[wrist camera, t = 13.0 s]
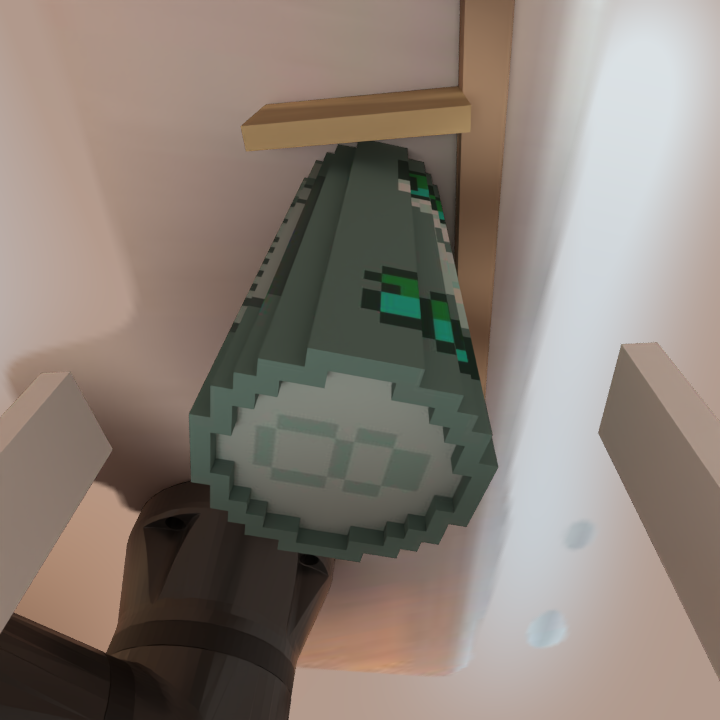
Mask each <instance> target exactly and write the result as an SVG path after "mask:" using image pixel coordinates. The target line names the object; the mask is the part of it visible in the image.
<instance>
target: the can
mask: <svg viewBox="0 0 720 720" xmlns="http://www.w3.org/2000/svg"><path fill="white" fill-rule="evenodd" d="M189 432H190V463H191V482H194V483H200V484H206V485H210V508H213V509H219V510H225V511H228V522H233V523H240V524H245V535H251V536H257V537H264V538H270V539H276V540H279V542H278V550H284V551H291V552H297V553H304V554H310V555H316V556H323V557H329V558H336V559H342V560H348V561H355V562H360V561H361V558H362V555H363V553H365V554H372V555H378V556H384V557H391V558H397V555H398V553H399V551H400V549H404V550H410V551H416V552H417V551H418V548H419V546H420V544H421V542H425V543H431V544H438V545H439V543H440V541H441V539H442V537H443V535H444V533H445V531H446V528H447V526H448V524H451V525H458V526H464V527H467V525H468V523H469V521H470V519H471V517H472V516H473V514H474V512H475V510H476V508H477V506H478V504H479V502H480V501H481V499H482V497H483V495H484V493H485V491H486V489H487V487H488V486H489V484H490V482H491V480H492V478H493V476H494V474H495V472H496V471H497V469H498V463H497V459H496V454H495V450H494V445H493V441H492V430H491V426H490V421H489V417H488V412H487V408H486V403H485V399H484V394H483V390H482V385H481V381H480V376H479V372H478V367H477V363H476V358H475V354H474V349H473V345H472V340H471V336H470V331H469V327H468V322H467V318H466V313H465V309H464V304H463V300H462V295H461V291H460V286H459V282H458V277H457V273H456V268H455V264H454V259H453V255H452V250H451V246H450V241H449V237H448V232H447V228H446V223H445V219H444V214H443V210H442V205H441V201H440V196H439V192H438V187H437V185H433V184H432V179H431V174H428V173H425V167H424V162H420V161H415V160H410V159H408V153H407V148H403V147H399V146H394V145H389V144H384V143H380V142H375V141H361V142H358V144H357V148H353V147H349V146H344V145H339V144H338V146H337V149H336V151H335V154H333V153H328V152H327V154H326V156H325V158H324V161H323V162H322V161H317V160H316V162H315V164H314V166H313V168H312V170H311V173H310V175H309V177H308V178H304V180H303V182H302V184H301V186H300V188H299V190H298V192H297V194H296V196H295V198H294V200H293V202H292V204H291V206H290V208H289V210H288V213H287V215H286V217H285V219H284V221H283V223H282V225H281V227H280V229H279V231H278V233H277V235H276V237H275V239H274V241H273V243H272V245H271V247H270V249H269V251H268V253H267V255H266V257H265V260H264V262H263V264H262V266H261V268H260V270H259V272H258V274H257V276H256V278H255V280H254V282H253V284H252V286H251V288H250V290H249V292H248V294H247V296H246V298H245V300H244V302H243V304H242V306H241V309H240V311H239V313H238V315H237V317H236V319H235V321H234V323H233V325H232V327H231V329H230V331H229V333H228V335H227V337H226V339H225V341H224V343H223V345H222V347H221V349H220V351H219V353H218V356H217V358H216V360H215V362H214V364H213V366H212V368H211V370H210V372H209V374H208V376H207V378H206V380H205V382H204V384H203V386H202V388H201V390H200V392H199V394H198V396H197V398H196V400H195V403H194V405H193V407H192V409H191V411H190V413H189Z"/></svg>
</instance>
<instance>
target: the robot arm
mask: <svg viewBox="0 0 720 720" xmlns="http://www.w3.org/2000/svg"><path fill="white" fill-rule="evenodd" d="M598 433H599V435H600V437H601V439H602V441H603V444H604V446H605V448H606V450H607V452H608V454H609V456H610V458H611V459H612V462H613V464H614V466H615V468H616V470H617V472H618V474H619V476H620V478H621V480H622V482H623V484H624V486H625V489H626V490H627V493H628V494H629V497H630V499H631V501H632V503H633V505H634V507H635V509H636V511H637V513H638V515H639V517H640V519H641V521H642V523H643V525H644V527H645V529H646V531H647V533H648V535H649V538H650V540H651V542H652V544H653V546H654V548H655V550H656V552H657V554H658V556H659V558H660V560H661V562H662V564H663V566H664V568H665V570H666V572H667V574H668V576H669V578H670V580H671V582H672V584H673V587H674V589H675V591H676V593H677V595H678V597H679V599H680V601H681V603H682V605H683V607H684V609H685V611H686V613H687V615H688V617H689V619H690V621H691V623H692V625H693V627H694V629H695V631H696V633H697V635H698V637H699V640H700V642H701V644H702V646H703V648H704V650H705V652H706V654H707V656H708V658H709V660H710V662H711V664H712V666H713V668H714V670H715V672H716V674H717V676H718V678H719V680H720V421H719V420H718V418H717V417H716V416H715V415H714V413H713V412H712V411H711V410H710V408H709V407H708V406H707V404H706V403H705V402H704V401H703V399H702V398H701V397H700V396H699V395H698V393H697V392H696V391H695V390H694V388H693V387H692V386H691V384H690V383H689V382H688V381H687V379H686V378H685V377H684V375H683V374H682V373H681V372H680V370H679V369H678V368H677V367H676V365H675V364H674V363H673V362H672V360H671V359H670V358H669V357H668V355H667V354H666V353H665V352H664V350H663V349H662V348H661V347H660V345H659V344H658V343H657V342H655V343H636V344H622V345H621V348H620V352H619V356H618V359H617V363H616V367H615V371H614V375H613V379H612V383H611V386H610V390H609V394H608V398H607V401H606V406H605V409H604V413H603V417H602V421H601V425H600V428H599V432H598ZM112 450H113V449H112V447H111V445H110V443H109V442H108V440H107V438H106V436H105V434H104V433H103V431H102V429H101V427H100V425H99V423H98V422H97V420H96V418H95V416H94V414H93V412H92V411H91V409H90V407H89V405H88V403H87V401H86V400H85V398H84V396H83V394H82V392H81V390H80V389H79V387H78V385H77V383H76V381H75V379H74V378H73V376H72V374H71V372H52V373H41V374H40V375H39V376H38V377H37V378H36V379H35V380H34V381H33V383H32V384H31V385H30V386H29V387H28V388H27V389H26V390H25V391H24V392H23V393H22V394H21V395H20V397H19V398H18V399H17V400H16V401H15V402H14V403H13V404H12V405H11V406H10V407H9V409H7V411H6V412H5V413H4V414H3V415H2V416H1V417H0V720H288V718H289V711H290V704H291V695H292V688H293V681H294V675H295V669H296V664H297V660H298V658H299V655H300V653H301V651H302V649H303V646H304V644H305V642H306V640H307V638H308V635H309V633H310V631H311V629H312V627H313V624H314V622H315V620H316V618H317V616H318V613H319V611H320V609H321V607H322V605H323V602H324V600H325V598H326V596H327V594H328V591H329V589H330V586H331V582H332V578H333V569H334V560H335V558H329V557H323V556H316V555H310V554H304V553H297V552H291V551H284V550H278V542H279V540H276V539H270V538H264V537H257V536H251V535H245V524H240V523H233V522H228V511H225V510H219V509H213V508H210V485H206V484H200V483H194V482H188V483H183V484H179V485H176V486H173V487H170V488H168V489H165V490H163V491H161V492H160V493H158V494H156V495H155V496H154V497H152V498H151V499H150V500H149V501H148V502H147V503H146V504H145V506H144V507H143V509H142V511H141V513H140V515H139V517H138V519H137V521H136V523H135V525H134V527H133V529H132V531H131V534H130V536H129V539H128V543H127V549H126V558H125V566H124V575H123V583H122V592H121V601H120V609H119V618H118V625H117V628H116V631H115V634H114V636H113V638H112V641H111V643H110V645H109V648H108V650H107V652H106V653H104V652H103V651H100V650H98V649H95V648H93V647H91V646H89V645H87V644H84V643H82V642H80V641H77V640H75V639H73V638H71V637H68V636H66V635H64V634H61V633H59V632H57V631H55V630H52V629H50V628H48V627H45V626H43V625H41V624H38V623H36V622H34V621H32V620H30V619H27V618H25V617H22V616H20V615H18V614H15V613H14V611H15V609H16V607H17V606H18V604H19V602H20V601H21V599H22V597H23V596H24V594H25V593H26V591H27V589H28V588H29V586H30V584H31V583H32V581H33V579H34V578H35V576H36V575H37V573H38V571H39V569H40V568H41V566H42V565H43V563H44V561H45V560H46V558H47V557H48V555H49V553H50V552H51V550H52V548H53V547H54V545H55V543H56V542H57V540H58V539H59V537H60V535H61V533H62V532H63V530H64V529H65V527H66V525H67V524H68V522H69V520H70V519H71V517H72V515H73V514H74V512H75V511H76V509H77V507H78V506H79V504H80V502H81V501H82V499H83V498H84V496H85V494H86V493H87V491H88V489H89V488H90V486H91V485H92V483H93V481H94V480H95V478H96V476H97V475H98V473H99V471H100V470H101V468H102V467H103V465H104V463H105V462H106V460H107V458H108V457H109V455H110V453H111V452H112Z"/></svg>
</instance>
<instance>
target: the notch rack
mask: <svg viewBox="0 0 720 720" xmlns="http://www.w3.org/2000/svg"><path fill="white" fill-rule="evenodd" d="M514 4H515V0H460V35H459V81H458V86H456V87H446V88H435V89H425V90H414V91H404V92H393V93H383V94H372V95H362V96H351V97H341V98H330V99H320V100H310V101H299V102H289V103H278V104H268V105H265V106H264V107H262V108H261V109H260V110H259V111H258V112H257V113H255V114H254V115H253V116H252V117H251V118H250V119H248V120H247V121H246V122H245V123H244V124H243V125H242V126H241V130H242V135H243V140H244V144H245V149H246V151H257V150H268V149H280V148H292V147H303V146H315V145H326V144H338V143H350V142H361V141H373V140H384V139H396V138H408V137H419V136H431V135H442V134H454V133H457V172H456V218H455V263H454V264H455V268H456V273H457V277H458V282H459V286H460V291H461V295H462V300H463V304H464V309H465V313H466V318H467V322H468V327H469V331H470V336H471V340H472V345H473V349H474V354H475V358H476V363H477V367H478V372H479V376H480V381H481V385H482V390H483V394H484V399H485V392H486V379H487V365H488V352H489V338H490V325H491V312H492V298H493V285H494V272H495V258H496V245H497V232H498V218H499V205H500V191H501V178H502V165H503V151H504V138H505V125H506V111H507V98H508V84H509V71H510V58H511V44H512V31H513V18H514Z"/></svg>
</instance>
